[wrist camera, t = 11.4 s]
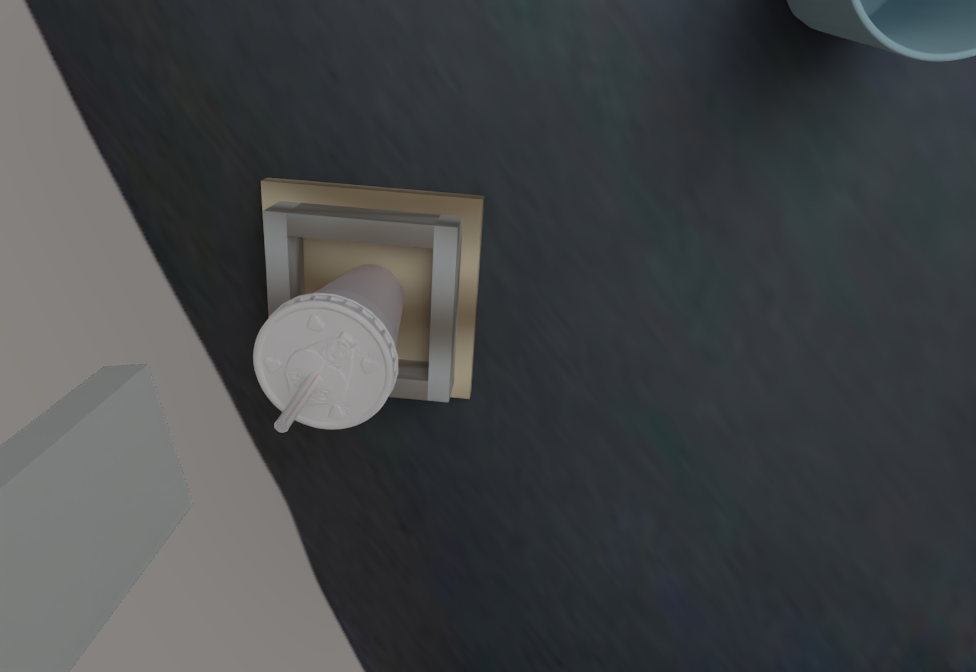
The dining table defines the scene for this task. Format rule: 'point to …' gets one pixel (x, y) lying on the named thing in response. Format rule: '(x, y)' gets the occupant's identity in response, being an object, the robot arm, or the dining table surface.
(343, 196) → the tray
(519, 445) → the dining table surface
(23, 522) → the robot arm
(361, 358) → the smoothie
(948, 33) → the cup
